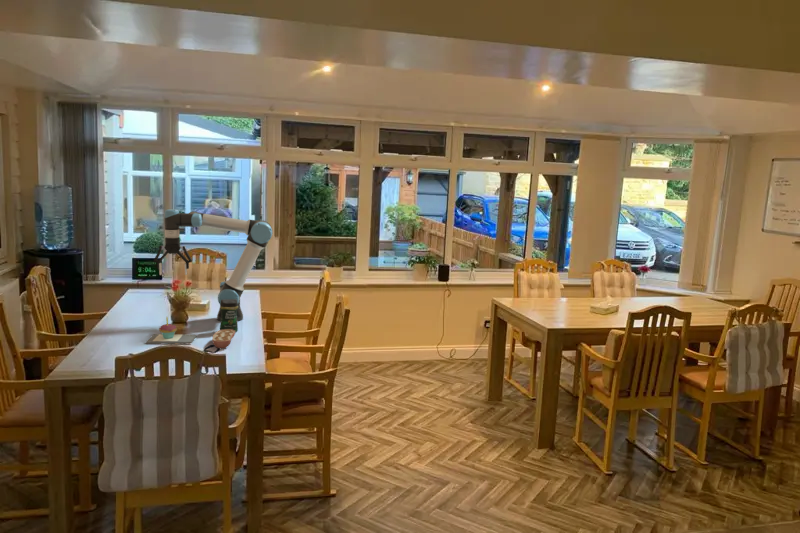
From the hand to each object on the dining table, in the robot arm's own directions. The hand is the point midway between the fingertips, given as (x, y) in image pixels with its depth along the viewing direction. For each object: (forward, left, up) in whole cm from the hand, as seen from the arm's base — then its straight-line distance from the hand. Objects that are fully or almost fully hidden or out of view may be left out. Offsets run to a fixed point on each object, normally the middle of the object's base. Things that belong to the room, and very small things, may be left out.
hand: (173, 274), depth 331 cm
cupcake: (-5, +31, -28) cm, 42 cm away
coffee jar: (-33, +13, -30) cm, 46 cm away
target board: (-7, +31, -29) cm, 43 cm away
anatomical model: (-34, +36, -30) cm, 58 cm away
